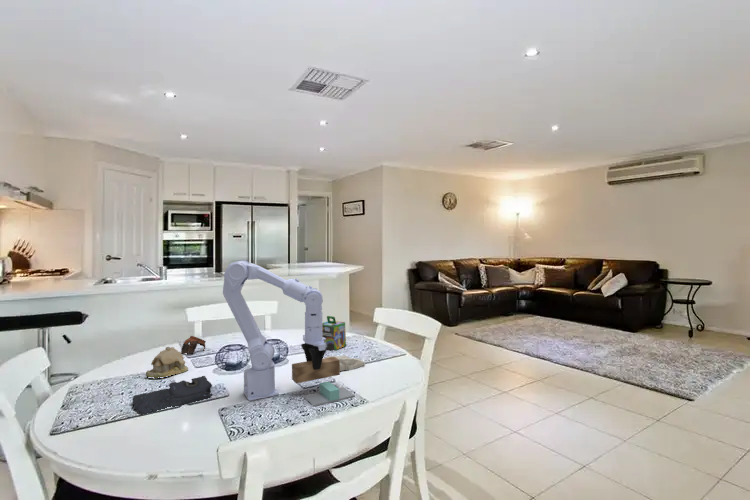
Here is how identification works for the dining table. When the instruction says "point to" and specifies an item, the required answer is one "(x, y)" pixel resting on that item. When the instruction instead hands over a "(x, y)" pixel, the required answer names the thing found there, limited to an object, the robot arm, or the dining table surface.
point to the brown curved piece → (192, 344)
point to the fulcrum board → (323, 400)
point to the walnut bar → (307, 373)
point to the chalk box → (334, 334)
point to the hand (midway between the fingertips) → (313, 366)
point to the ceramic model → (167, 363)
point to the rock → (348, 362)
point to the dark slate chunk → (173, 395)
